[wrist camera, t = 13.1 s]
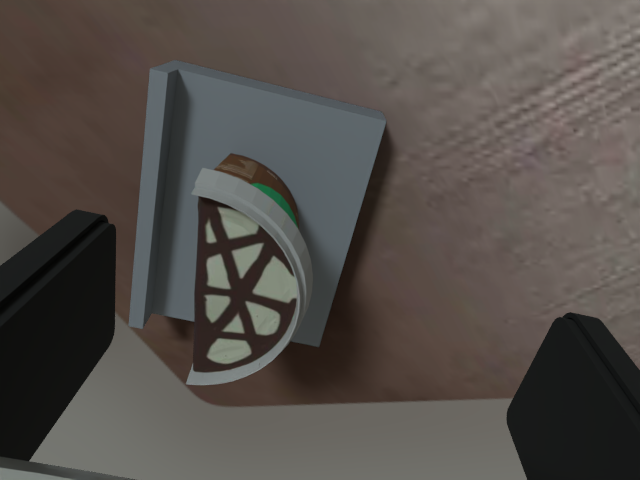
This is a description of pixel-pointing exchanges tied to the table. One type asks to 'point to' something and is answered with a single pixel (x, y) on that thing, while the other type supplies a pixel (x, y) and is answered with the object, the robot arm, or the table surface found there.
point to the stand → (256, 143)
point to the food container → (246, 271)
